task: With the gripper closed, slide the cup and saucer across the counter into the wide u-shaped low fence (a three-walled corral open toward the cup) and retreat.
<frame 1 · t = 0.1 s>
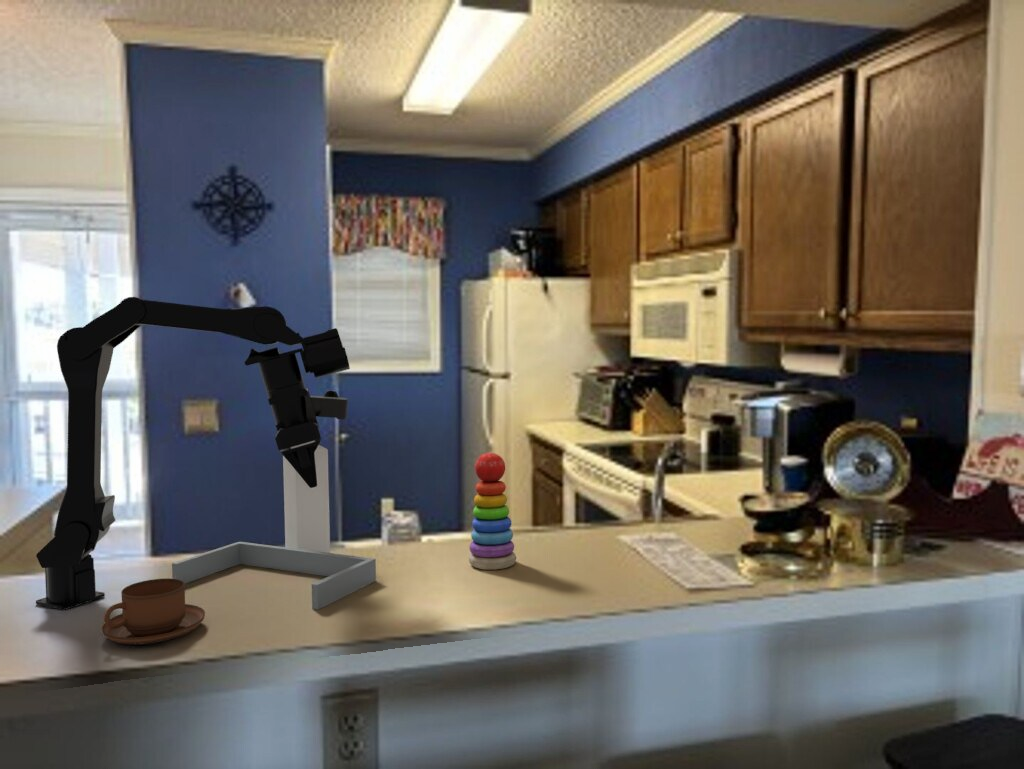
hand: (313, 482, 118), 15 cm above the counter, tool pointing down, fingers open, 9 cm apart
u-shaped low fence: (270, 585, 115), on the counter
milk: (307, 555, 132), on the counter
cup and saucer: (155, 635, 96), on the counter
stacking toy: (492, 565, 125), on the counter
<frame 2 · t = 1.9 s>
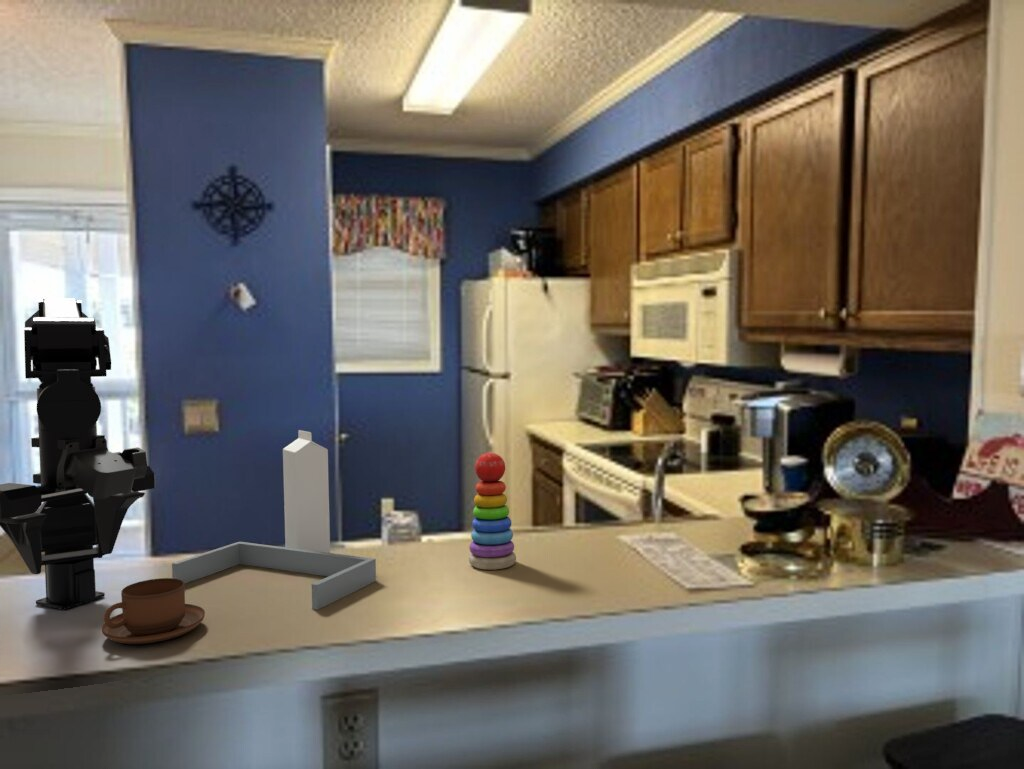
hand: (73, 563, 86), 12 cm above the counter, tool pointing down, fingers open, 8 cm apart
nothing on the counter moved.
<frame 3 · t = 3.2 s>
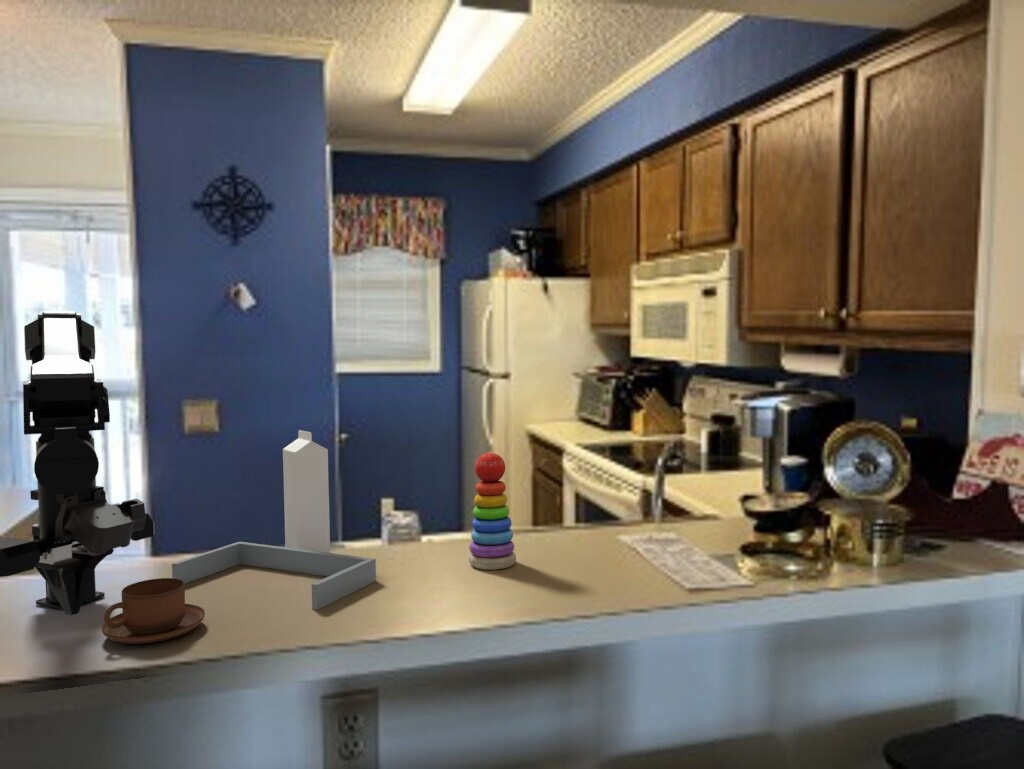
hand: (72, 614, 86), 6 cm above the counter, tool pointing down, fingers closed
nothing on the counter moved.
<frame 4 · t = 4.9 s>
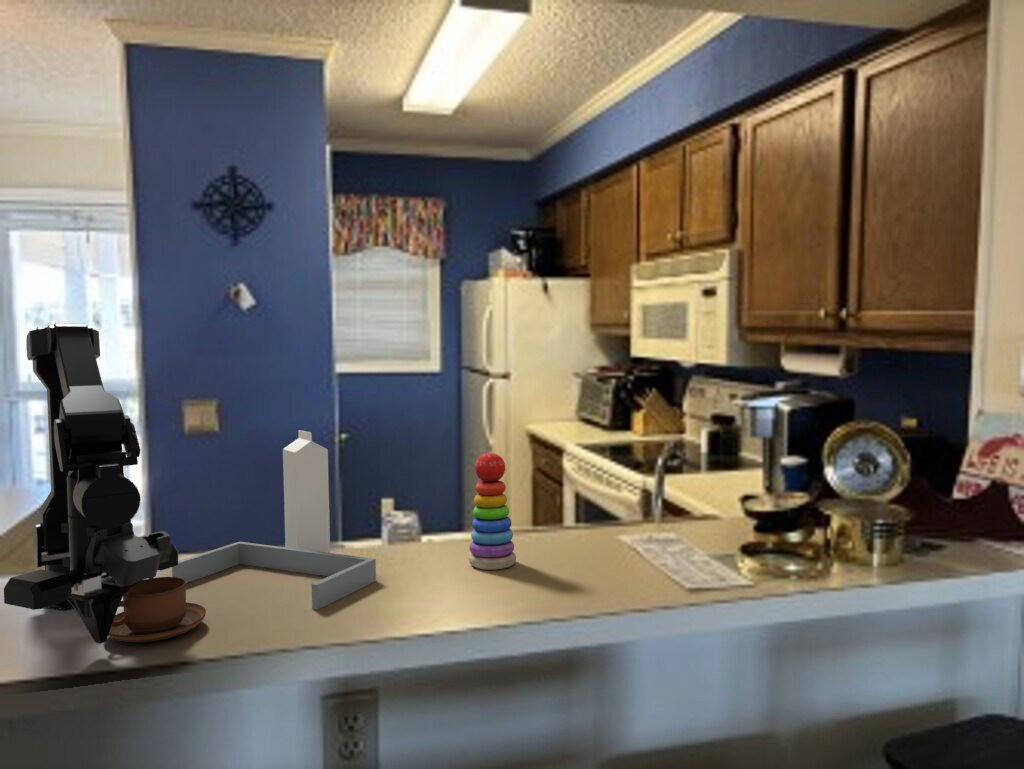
hand: (100, 642, 89), 2 cm above the counter, tool pointing down, fingers closed
cup and saucer: (156, 633, 97), on the counter, touching gripper
everything else where it was.
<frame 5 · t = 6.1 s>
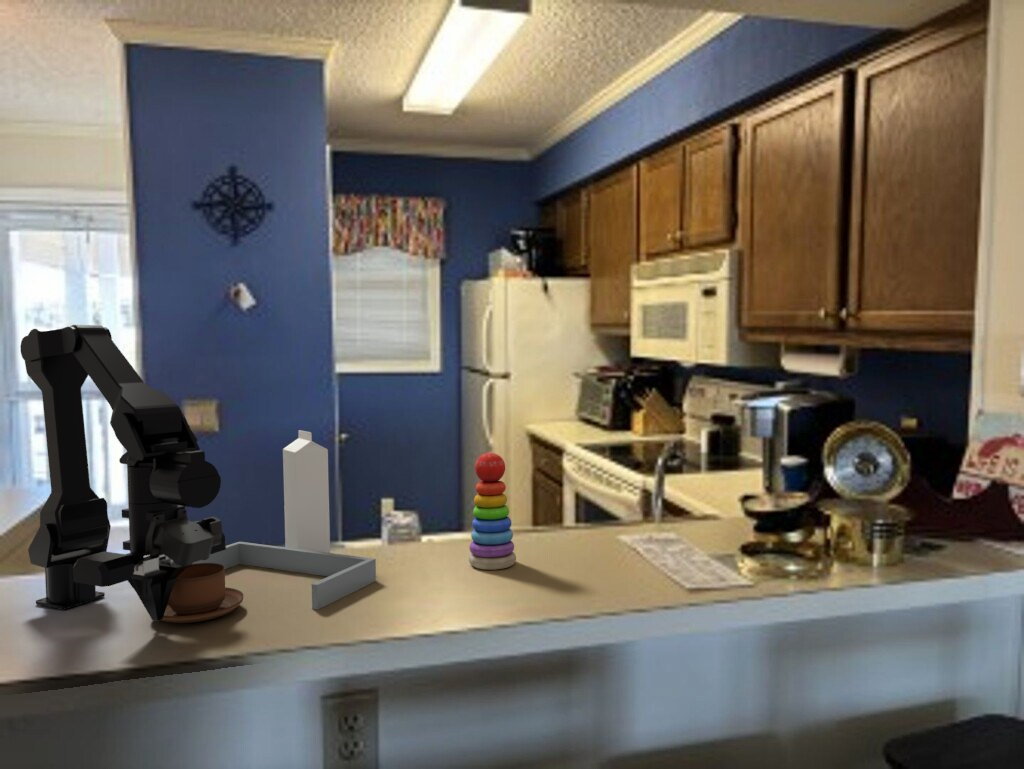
hand: (157, 620, 96), 2 cm above the counter, tool pointing down, fingers closed
cup and saucer: (197, 615, 103), on the counter, touching gripper
everything else where it was.
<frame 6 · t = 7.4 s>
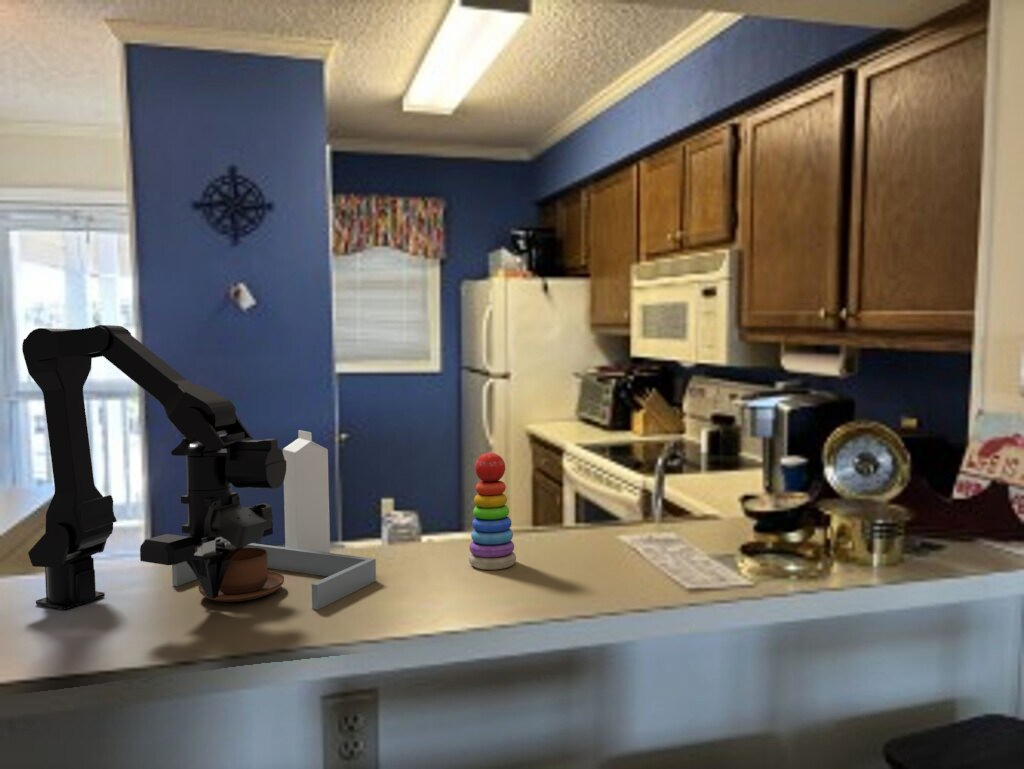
hand: (212, 597, 105), 2 cm above the counter, tool pointing down, fingers closed
cup and saucer: (242, 596, 111), on the counter, touching gripper
everything else where it was.
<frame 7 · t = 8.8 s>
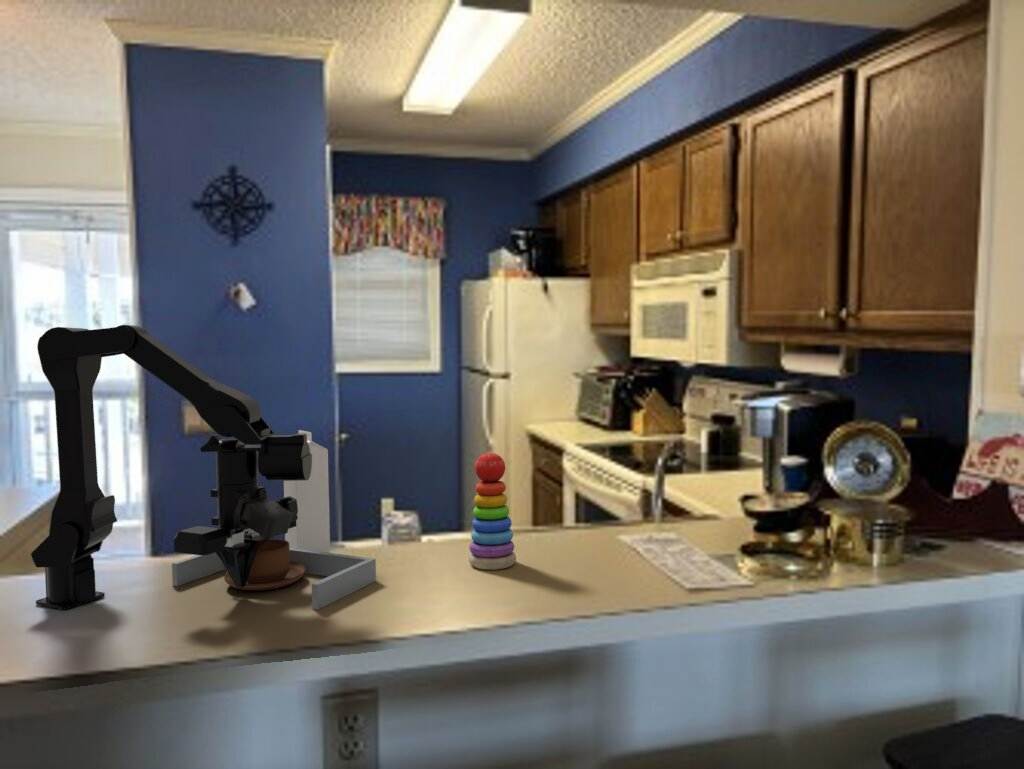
hand: (240, 587, 110), 2 cm above the counter, tool pointing down, fingers closed
cup and saucer: (265, 585, 116), on the counter
everything else where it was.
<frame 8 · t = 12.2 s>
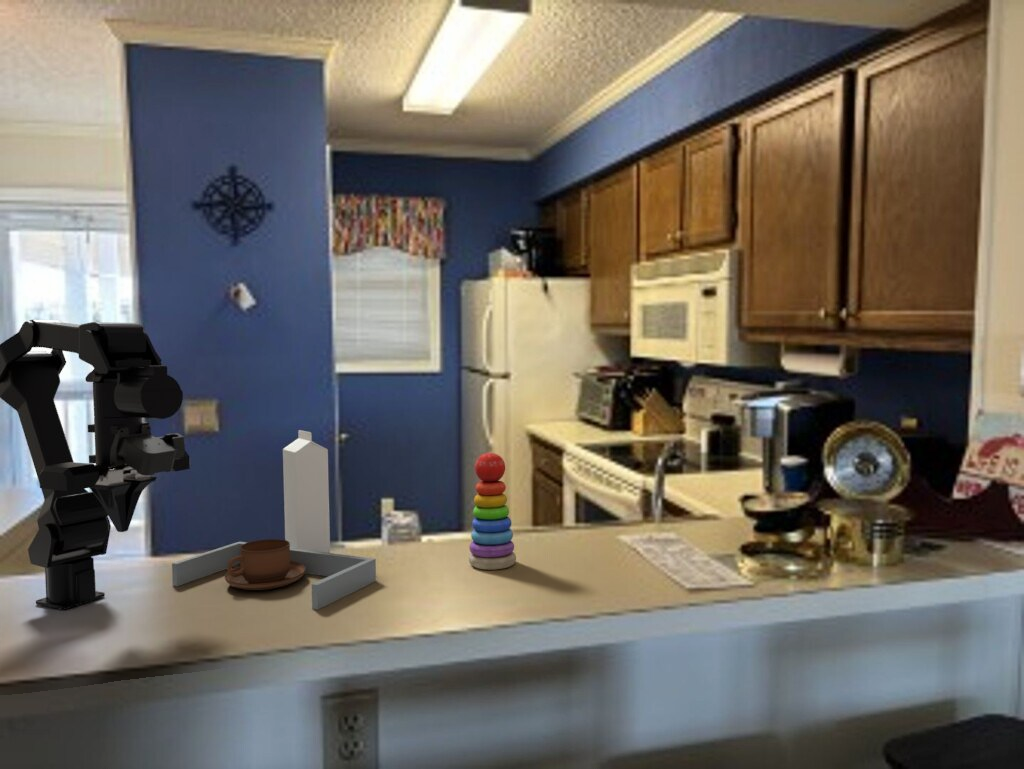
hand: (122, 531, 101), 12 cm above the counter, tool pointing down, fingers closed
nothing on the counter moved.
at the end: cup and saucer inside the target area (1.6 cm from its centre), on the counter; cup and saucer tilted 0° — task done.
